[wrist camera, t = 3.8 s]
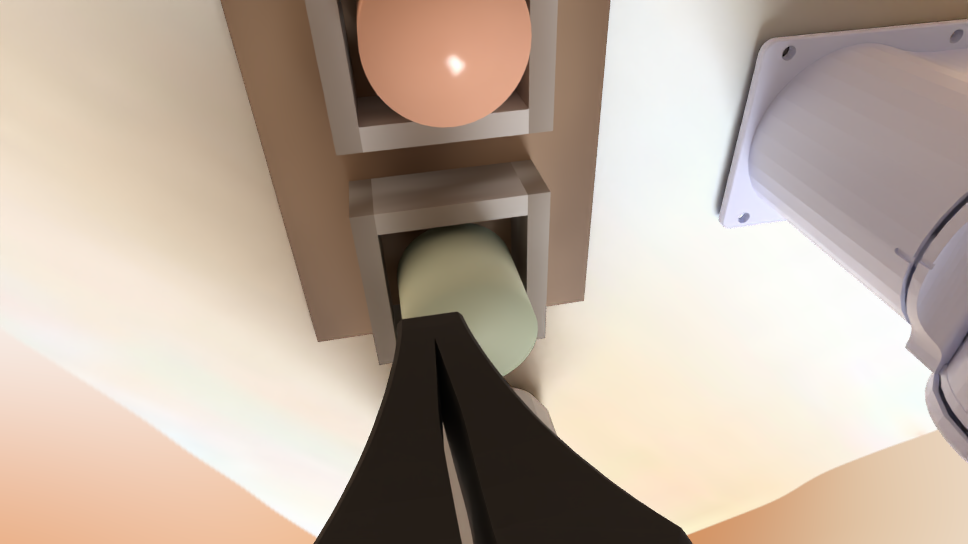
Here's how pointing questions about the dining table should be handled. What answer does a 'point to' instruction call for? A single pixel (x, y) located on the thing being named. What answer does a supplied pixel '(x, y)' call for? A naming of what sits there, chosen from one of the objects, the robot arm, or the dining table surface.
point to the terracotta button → (443, 55)
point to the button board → (420, 159)
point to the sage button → (470, 289)
